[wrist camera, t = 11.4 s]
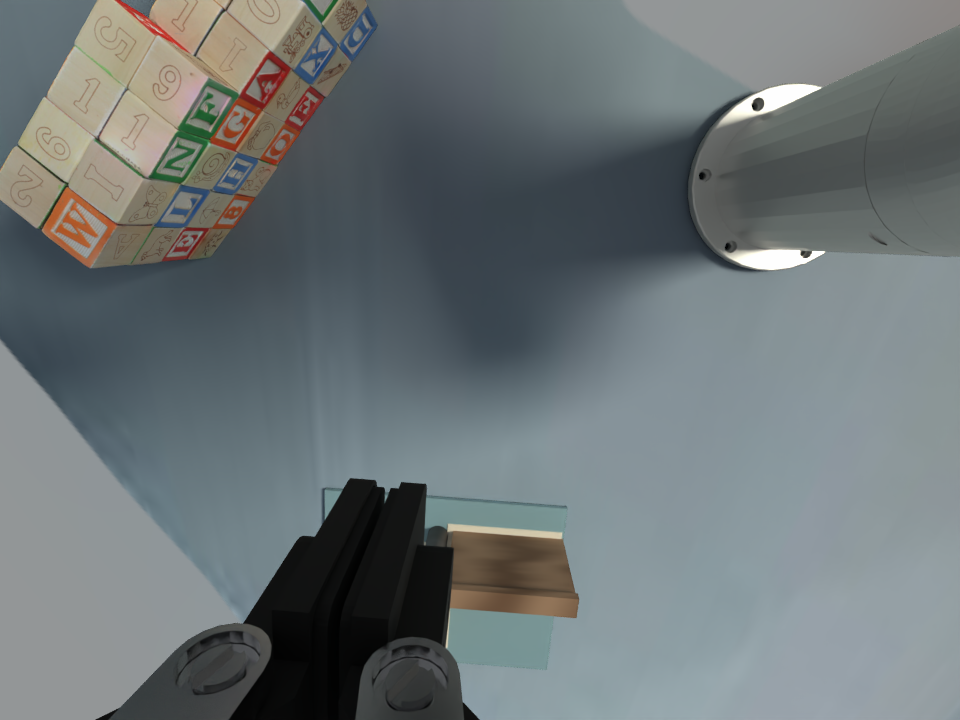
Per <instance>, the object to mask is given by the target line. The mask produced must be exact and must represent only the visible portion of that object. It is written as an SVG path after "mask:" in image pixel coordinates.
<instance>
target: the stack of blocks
mask: <svg viewBox="0 0 960 720" xmlns="http://www.w3.org/2000/svg"><path fill="white" fill-rule="evenodd" d="M376 27H377V23H376V21H375V19H374V17H373V15H372V13H371V11H370V9H369V7H368V5H367V3H366V1H365V0H156V1H155V3H154V4H153V6H152V8H151V11H150V15H149V18H147V17H146V16H145V15H143V14H142V13H140V12H138V11H137V10H135V9H133V8H131V7H130V6H128V5H127V4H125V3H123V2H122V1H121V0H97V2H96V4H95V5H94V7H93V9H92V11H91V13H90V15H89V17H88V18H87V20H86V22H85V24H84V25H83V27H82V29H81V31H80V33H79V34H78V36H77V38H76V40H75V46H74V47H73V48H72V50H71V51H70V53H69V55H68V56H67V58H66V60H65V61H64V63H63V65H62V67H61V69H60V71H59V73H58V75H57V77H56V78H55V80H54V81H53V83H52V85H51V87H50V89H49V91H48V94H47V96H46V97H44V98H43V99H42V101H41V102H40V104H39V106H38V108H37V110H36V111H35V113H34V115H33V117H32V118H31V120H30V122H29V123H28V125H27V127H26V129H25V131H24V132H23V134H22V136H21V138H20V140H19V142H18V144H19V146H16V147H14V148H13V149H12V151H11V152H10V154H9V156H8V157H7V159H6V161H5V163H4V164H3V166H2V168H1V170H0V200H1V201H2V202H4V203H5V204H6V205H7V206H9V207H10V208H11V209H13V210H14V211H15V212H16V213H18V214H19V215H20V216H21V217H23V218H24V219H25V220H26V221H28V222H29V223H30V224H31V225H32V226H34V227H35V228H37V229H42V232H43V233H44V234H45V235H46V236H47V237H48V238H50V239H51V240H52V241H54V242H55V243H56V244H58V245H59V246H60V247H62V248H63V249H64V250H65V251H67V252H68V253H69V254H71V255H72V256H73V257H75V258H76V259H77V260H79V261H80V262H81V263H83V264H84V265H86V266H87V267H89V268H100V267H110V266H119V265H137V264H151V263H159V262H160V261H172V260H182V259H201V258H209V257H211V256H212V255H213V253H214V252H215V251H216V249H217V248H218V246H219V245H220V244H221V242H222V241H223V240H224V238H225V237H226V236H227V234H228V233H229V232H230V230H231V229H232V228H234V227H235V225H236V224H237V222H238V221H239V220H240V218H241V217H242V216H243V214H244V213H245V211H246V210H247V209H248V207H249V206H250V205H251V203H252V202H253V201H254V199H255V197H256V196H257V195H258V194H259V192H260V191H261V190H262V189H263V187H264V186H265V184H266V183H267V182H268V180H269V179H270V177H271V176H272V175H273V173H274V172H275V171H276V169H277V167H278V163H279V162H280V161H281V160H282V158H283V156H284V155H285V154H286V152H287V151H288V149H289V148H290V147H291V145H292V144H293V142H294V141H295V140H296V138H297V137H298V136H299V134H300V131H301V130H302V129H303V127H304V126H305V124H306V123H307V122H308V120H309V119H310V118H311V116H312V115H313V113H314V112H315V110H316V109H317V108H318V106H319V105H320V104H321V102H322V101H323V99H324V97H327V96H328V95H329V94H330V92H331V91H332V90H333V88H334V87H335V85H336V84H337V83H338V81H339V80H340V78H341V77H342V76H343V74H344V73H345V72H346V70H347V69H348V68H349V66H350V64H351V62H352V61H353V60H354V58H355V57H356V56H357V54H358V53H359V52H360V50H361V49H362V47H363V46H364V44H365V43H366V42H367V40H368V39H369V38H370V36H371V35H372V33H373V32H374V31H375V29H376Z"/></svg>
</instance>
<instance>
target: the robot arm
mask: <svg viewBox="0 0 960 720" xmlns="http://www.w3.org/2000/svg"><path fill="white" fill-rule="evenodd" d="M752 104H753V105H754V108H755V109H754V110H753V109H752ZM699 173H702V174H703V179H702V180H700V179H699ZM688 201H689V207H690V214H691V216H692V219H693V222H694V225H695V227H696V230H697V231H698V233H699V234H700V236H701V238H702V239H703V241H704V242H705V243H706V244H707V245H708V246H709V247H710V248H711V249H712V250H713V252H714V253H716V254H717V255H719V256H720V257H722V258H723V259H725V260H726V261H728V262H730V263H732V264H735V265H738V266H740V267H743V268H749V269H754V270H765V271H775V270H784V269H790V268H793V267H796V266H800V265H803V264H806V263H808V262H810V261H812V260H814V259H816V258H818V257H819V256H821V255H822V254H824V253H825V252H845V253H869V254H893V255H918V256H942V257H950V256H953V257H960V25H958V26H956V27H954V28H952V29H950V30H947V31H945V32H943V33H941V34H939V35H937V36H934V37H932V38H930V39H928V40H925V41H923V42H921V43H919V44H917V45H914V46H912V47H910V48H908V49H906V50H903V51H901V52H899V53H897V54H895V55H892V56H890V57H888V58H886V59H884V60H882V61H879V62H877V63H875V64H873V65H871V66H868V67H866V68H864V69H862V70H860V71H857V72H855V73H853V74H851V75H849V76H846V77H844V78H842V79H840V80H838V81H836V82H833V83H831V84H829V85H827V86H825V87H820V86H816V85H810V84H805V83H789V84H781V85H777V86H773V87H768V88H765V89H763V90H761V91H759V92H756V93H754V94H752V95H750V96H748V97H746V98H744V99H743V100H741V101H739V102H738V103H736V104H735V105H733V106H732V107H731V108H730V109H729V110H727V111H726V112H725V113H724V114H722V115H721V116H720V117H719V119H718V120H717V121H716V122H715V123H714V124H713V125H712V127H711V128H710V129H709V130H708V132H707V133H706V135H705V137H704V138H703V140H702V142H701V143H700V145H699V147H698V149H697V152H696V154H695V157H694V159H693V162H692V166H691V170H690V175H689V180H688ZM726 243H727V244H728V249H726V250H725V245H726ZM800 251H802V252H801V254H800ZM426 492H427V487H426V484H418V483H405V482H401V484H400V487H399V489H397V488H391V489H390V492H389V494H388V496H387V499H386V501H385V489H384V487H377V483H376V480H366V479H353V478H350V479H349V480H348V482H347V484H346V485H345V487H344V489H343V491H342V492H341V494H340V496H339V497H338V499H337V501H336V502H335V504H334V506H333V507H332V509H331V511H330V512H329V514H328V516H327V517H326V519H325V521H324V523H323V524H322V526H321V528H320V529H319V531H318V533H317V534H316V536H315V537H311V536H301V537H300V538H299V539H298V540H297V541H296V543H295V544H294V546H293V547H292V549H291V550H290V552H289V553H288V555H287V556H286V558H285V560H284V561H283V563H282V564H281V566H280V567H279V569H278V570H277V572H276V574H275V575H274V577H273V578H272V580H271V581H270V583H269V584H268V586H267V587H266V589H265V591H264V592H263V594H262V595H261V597H260V598H259V600H258V601H257V603H256V604H255V606H254V608H253V609H252V611H251V612H250V614H249V615H248V617H247V618H246V620H245V622H244V623H243V624H240V623H233V624H226V625H220V626H217V627H214V628H211V629H208V630H205V631H203V632H201V633H199V634H198V635H196V636H194V637H192V638H190V639H189V640H187V641H186V642H185V643H184V644H182V645H181V646H180V647H179V648H178V649H177V650H175V651H174V652H173V653H172V655H170V657H169V658H168V659H167V660H166V661H165V662H164V663H163V664H162V665H161V666H160V667H159V668H158V669H157V670H156V671H155V672H154V673H153V674H152V675H151V676H150V677H149V678H148V679H147V680H146V682H144V683H143V685H141V687H140V688H139V689H138V690H137V691H136V692H135V693H134V694H133V695H132V696H131V697H130V698H129V699H128V700H127V701H126V702H125V703H124V704H123V705H122V706H121V707H120V708H118V709H116V710H114V711H112V712H110V713H108V714H106V715H104V716H102V717H100V718H98V719H96V720H479V719H478V718H477V717H476V715H475V714H474V713H473V712H472V711H471V710H470V709H469V708H468V707H467V706H466V705H465V704H464V703H463V702H462V692H461V682H460V673H459V669H458V666H457V662H456V660H455V659H454V657H453V656H452V654H451V653H450V652H449V650H447V649H446V639H447V630H448V621H449V612H450V601H451V589H452V575H453V560H454V548H453V547H440V546H427V545H424V533H425V513H426Z"/></svg>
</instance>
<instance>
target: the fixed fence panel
mask: <svg viewBox="0 0 960 720" xmlns="http://www.w3.org/2000/svg"><path fill="white" fill-rule="evenodd" d="M447 541H448V533H447V530H446V529H445V528H444V527H442V526H434V527H432V528H431V529H430V530H429V531H428V535H427V540H426V545H427V546H440V547H447ZM451 547H453V548H454V560H453V575H452V589H451V601H450V608H455V609H468V610H480V611H493V612H506V613H519V614H531V615H544V616H557V617H569V618H577V611H578V604H579V597H578V594H576V593H575V589H574V585H573V581H572V577H571V572H570V568H569V564H568V560H567V555H566V551H565V547H564V543H563V538H562V539H554V538H541V537H528V536H515V535H503V534H490V533H477V532H464V531H453V535H452V543H451Z"/></svg>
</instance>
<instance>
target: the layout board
mask: <svg viewBox="0 0 960 720" xmlns="http://www.w3.org/2000/svg"><path fill="white" fill-rule="evenodd" d="M342 491H343V489H334V488H326V489H325V519H326V517H327V516H328V514H329V512H330V511H331V509H332V507H333V506H334V504H335V502H336V501H337V499H338V497H339V496H340V494H341V492H342ZM388 494H389V493H386V492H385V501H386V499H387V496H388ZM566 517H567V506H554V505H541V504H528V503H515V502H502V501H489V500H476V499H463V498H451V497H438V496H426V513H425V533H424V545H426V540H427V535H428V531H429V530H430V529H431V528H432V527H434V526H442V527H444V528H445V529H446V530H447V533H448V541H447V547H451V543H452V535H453V531H464V532H477V533H490V534H503V535H515V536H528V537H541V538H554V539H562V538H563V540H564V532H565V525H566ZM553 618H554V616H544V615H531V614H519V613H506V612H493V611H480V610H468V609H455V608H450V612H449V621H448V630H447V639H446V649H447V650H449V652H450V653H451V654H452V656H453V657H454V659H455V660H456V662H457V663H466V664H479V665H491V666H504V667H517V668H529V669H542V670H547V665H548V657H549V649H550V641H551V634H552V626H553Z"/></svg>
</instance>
